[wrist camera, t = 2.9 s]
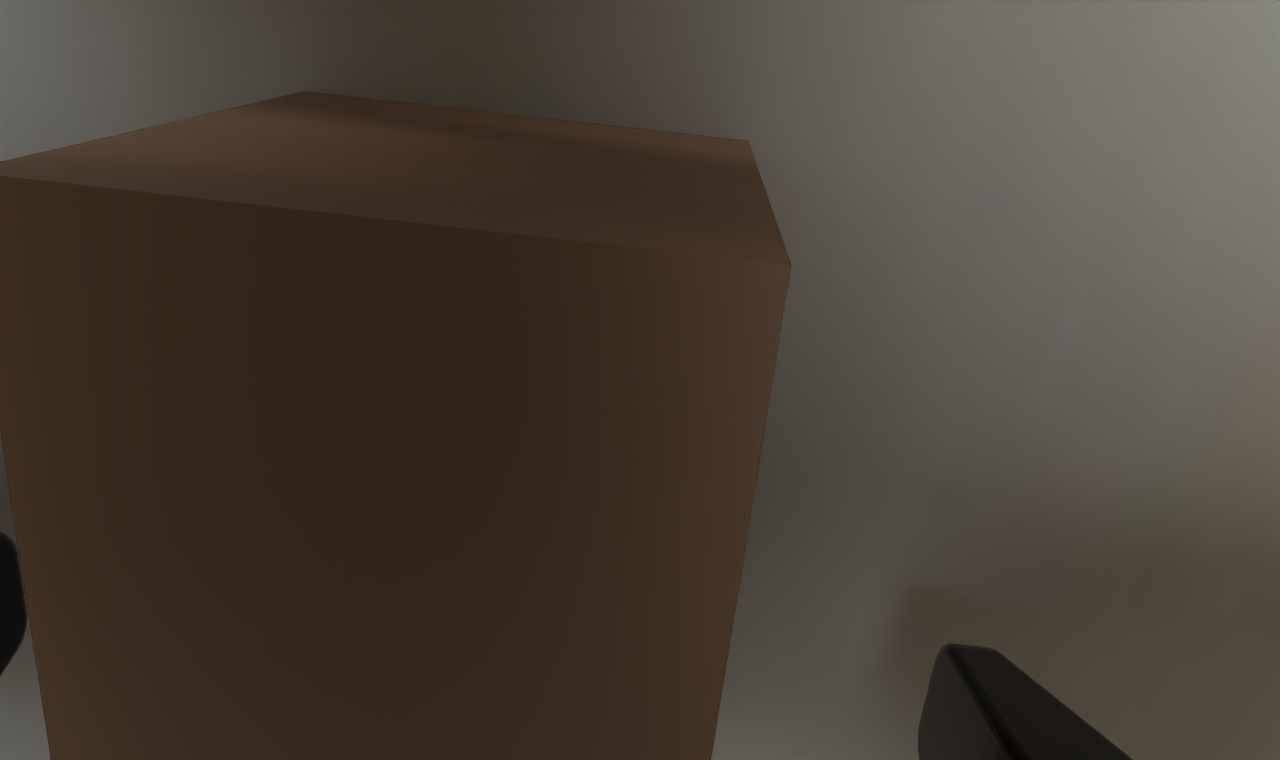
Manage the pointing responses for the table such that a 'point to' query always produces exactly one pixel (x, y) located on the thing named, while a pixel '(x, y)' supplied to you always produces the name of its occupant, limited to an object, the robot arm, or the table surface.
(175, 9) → the table surface
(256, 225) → the tall brown cuboid
